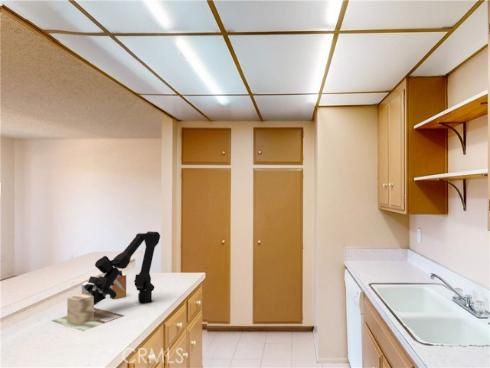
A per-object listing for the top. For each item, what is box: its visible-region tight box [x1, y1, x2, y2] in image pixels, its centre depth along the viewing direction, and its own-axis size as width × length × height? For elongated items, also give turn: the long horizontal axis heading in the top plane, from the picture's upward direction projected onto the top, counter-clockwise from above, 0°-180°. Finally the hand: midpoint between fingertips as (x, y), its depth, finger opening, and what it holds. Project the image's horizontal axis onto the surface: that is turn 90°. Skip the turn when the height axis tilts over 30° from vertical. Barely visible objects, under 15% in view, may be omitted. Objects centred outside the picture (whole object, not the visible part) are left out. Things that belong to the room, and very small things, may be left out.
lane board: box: [51, 307, 126, 332], centre depth 164 cm, size 22×25×2 cm
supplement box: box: [81, 281, 98, 306], centre depth 187 cm, size 7×7×13 cm
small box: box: [110, 272, 127, 300], centre depth 204 cm, size 8×6×13 cm
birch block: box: [66, 293, 95, 325], centre depth 160 cm, size 8×8×11 cm
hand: (89, 306), depth 164 cm, fingers closed
